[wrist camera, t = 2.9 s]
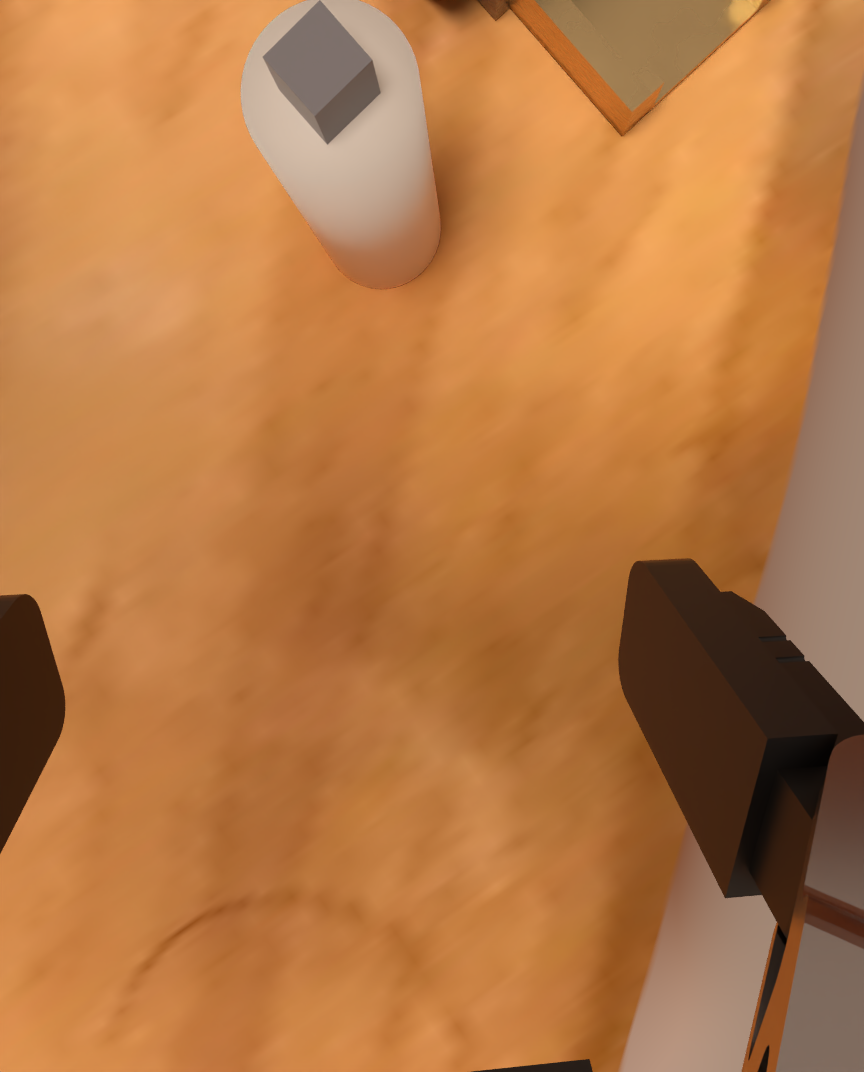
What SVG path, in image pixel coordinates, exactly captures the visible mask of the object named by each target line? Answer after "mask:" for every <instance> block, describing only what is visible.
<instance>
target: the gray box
mask: <svg viewBox="0 0 864 1072" xmlns="http://www.w3.org/2000/svg"><path fill="white" fill-rule="evenodd" d="M478 1H479V2H480V3H481V4H482V6H483V7H484V8H485V9H486V10H487V11H488V12H489V14H490V15H491V16H492V17H493V18H494V19H495V20H497V19H498V18H499V17H500V16H501V15H502V14H503V13H504V12H505V11H506V10H507V9H508V8H509V7H510V9H511V10H512V11H513V12H514V13H515V14H516V15H517V17H518V18H519V19H520V20H521V21H522V22H523V24H524V25H525V26H526V27H527V28H528V29H529V30H530V32H531V33H532V34H533V35H534V36H535V37H536V38H537V40H538V41H539V42H540V43H541V44H542V45H543V46H544V48H545V49H546V50H547V51H548V52H549V53H550V54H551V56H552V57H553V58H554V59H555V60H556V61H557V62H558V64H559V65H560V66H561V67H562V68H563V69H564V70H565V72H566V73H567V74H568V75H569V76H570V77H571V78H572V80H573V81H574V82H575V83H576V84H577V85H578V87H579V88H580V89H581V90H582V91H583V92H584V93H585V95H586V96H587V97H588V98H589V99H590V100H591V101H592V103H593V104H594V105H595V106H596V107H597V108H598V109H599V111H600V112H601V113H602V114H603V115H604V116H605V117H606V119H607V120H608V121H609V122H610V123H611V124H612V125H613V127H614V128H615V129H616V130H617V131H618V132H619V133H620V135H621V136H623V135H624V134H625V133H626V132H627V131H628V130H630V129H631V128H632V127H633V126H634V125H635V124H636V123H637V122H638V121H639V120H640V119H641V118H643V117H644V116H645V115H646V114H647V113H648V112H649V111H650V110H651V109H652V108H653V107H654V106H656V105H657V104H658V103H659V102H660V101H661V100H662V99H663V98H664V97H665V96H666V95H668V94H669V93H670V92H671V91H672V90H673V89H674V88H675V87H676V86H677V85H678V84H679V83H681V82H682V81H683V80H684V79H685V78H686V77H687V76H688V75H689V74H690V73H691V72H693V71H694V70H695V69H696V68H697V67H698V66H699V65H700V64H701V63H702V62H703V61H704V60H706V59H707V58H708V57H709V56H710V55H711V54H712V53H713V52H714V51H715V50H716V49H717V48H719V47H720V46H721V45H722V44H723V43H724V42H725V41H726V40H727V39H728V38H729V37H731V36H732V35H733V34H734V33H735V32H736V31H737V30H738V29H739V28H740V27H741V26H742V25H744V24H745V23H746V22H747V21H748V20H749V19H750V18H751V17H752V16H753V15H754V14H756V13H757V12H758V11H759V10H760V9H761V8H762V7H763V6H764V5H765V4H766V3H767V2H769V1H770V0H478Z"/></svg>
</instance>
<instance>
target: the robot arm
mask: <svg viewBox="0 0 864 1072" xmlns="http://www.w3.org/2000/svg"><path fill="white" fill-rule="evenodd" d="M618 661H619V675H620V681H621V685H622V689H623V692H624V695H625V698H626V700H627V702H628V704H629V706H630V708H631V710H632V712H633V714H634V716H635V718H636V720H637V722H638V724H639V726H640V728H641V730H642V732H643V734H644V736H645V738H646V740H647V742H648V744H649V746H650V748H651V750H652V752H653V754H654V756H655V758H656V760H657V762H658V764H659V766H660V768H661V770H662V772H663V774H664V776H665V778H666V780H667V782H668V784H669V786H670V788H671V790H672V792H673V794H674V796H675V798H676V800H677V802H678V804H679V806H680V808H681V810H682V812H683V814H684V816H685V818H686V820H687V822H688V824H689V826H690V828H691V830H692V832H693V834H694V836H695V838H696V840H697V842H698V844H699V846H700V849H701V851H702V853H703V855H704V856H705V858H706V861H707V862H708V864H709V867H710V868H711V870H712V873H713V875H714V877H715V878H716V881H717V883H718V885H719V887H720V889H721V890H722V893H723V895H724V897H725V898H731V897H743V896H754V895H763V897H764V899H765V901H766V903H767V904H768V906H769V908H770V910H771V912H772V914H773V915H774V917H775V919H776V921H777V923H776V926H775V929H774V933H773V937H772V941H771V945H770V950H769V954H768V958H767V963H766V967H765V971H764V976H763V980H762V985H761V989H760V993H759V998H758V1002H757V1006H756V1011H755V1015H754V1019H753V1024H752V1028H751V1033H750V1037H749V1041H748V1046H747V1050H746V1054H745V1059H744V1063H743V1068H742V1072H864V722H863V721H862V720H861V719H860V718H859V716H858V715H857V714H856V713H855V712H854V711H853V710H852V709H851V708H850V706H849V705H848V704H847V703H846V702H845V701H844V700H843V698H842V697H841V696H840V695H839V694H838V693H837V692H836V691H835V690H834V688H832V686H831V685H830V684H829V683H828V682H827V681H826V680H825V678H824V677H823V676H822V675H821V674H820V673H819V672H818V671H817V669H816V668H815V667H814V666H813V665H812V664H811V663H810V662H809V661H805V660H804V655H803V654H802V653H801V652H800V650H799V649H798V648H797V647H796V646H795V645H794V644H793V643H792V642H791V641H790V640H789V641H787V640H786V635H785V634H784V633H783V631H782V630H781V629H780V628H779V627H778V626H777V625H776V624H775V623H774V621H773V620H772V619H771V618H770V617H769V616H768V615H767V614H766V612H765V611H763V610H762V609H760V608H758V607H756V606H755V605H753V604H752V603H750V602H748V601H747V600H745V599H743V598H742V597H740V596H738V595H737V594H735V593H733V592H732V591H729V592H720V591H719V590H718V588H717V587H716V586H715V585H714V584H713V582H712V581H711V580H710V579H709V578H708V576H707V575H706V574H705V573H704V572H703V570H702V569H701V568H700V567H699V566H698V564H697V563H696V562H695V561H694V560H692V559H688V558H687V559H668V560H649V561H637V562H635V563H634V565H633V566H632V568H631V571H630V575H629V581H628V588H627V595H626V603H625V610H624V618H623V625H622V632H621V640H620V647H619V660H618ZM64 717H65V695H64V690H63V685H62V682H61V679H60V675H59V672H58V669H57V665H56V662H55V659H54V655H53V652H52V648H51V645H50V642H49V638H48V635H47V632H46V628H45V625H44V621H43V618H42V615H41V612H40V609H39V606H38V604H37V602H36V601H35V600H34V598H32V597H31V596H30V595H26V594H21V595H1V596H0V853H1V851H2V849H3V847H4V846H5V844H6V842H7V840H8V838H9V836H10V834H11V832H12V830H13V828H14V826H15V824H16V822H17V820H18V818H19V816H20V814H21V812H22V810H23V808H24V806H25V804H26V802H27V800H28V798H29V796H30V794H31V792H32V790H33V788H34V786H35V784H36V782H37V780H38V778H39V776H40V774H41V772H42V771H43V769H44V767H45V765H46V763H47V761H48V759H49V757H50V755H51V753H52V751H53V749H54V747H55V745H56V743H57V741H58V739H59V737H60V734H61V731H62V728H63V724H64ZM473 1072H593V1071H592V1067H591V1064H590V1060H589V1059H586V1060H577V1061H567V1062H558V1063H549V1064H539V1065H530V1066H520V1067H511V1068H501V1069H492V1070H482V1071H473Z"/></svg>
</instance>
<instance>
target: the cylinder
mask: <svg viewBox="0 0 864 1072" xmlns="http://www.w3.org/2000/svg"><path fill="white" fill-rule="evenodd" d="M241 104H242V111H243V116H244V119H245V123H246V126H247V128H248V131H249V133H250V135H251V137H252V139H253V141H254V143H255V144H256V146H257V148H258V149H259V151H260V152H261V154H262V155H263V157H264V158H265V160H266V161H267V163H268V164H269V166H270V167H271V169H272V170H273V172H274V173H275V175H276V176H277V178H278V179H279V181H280V182H281V184H282V185H283V187H284V188H285V190H286V191H287V193H288V195H289V196H290V198H291V199H292V201H293V202H294V204H295V205H296V207H297V208H298V210H299V211H300V213H301V214H302V216H303V217H304V219H305V220H306V222H307V223H308V225H309V226H310V228H311V229H312V231H313V232H314V234H315V235H316V237H317V238H318V240H319V241H320V243H321V245H322V246H323V248H324V249H325V251H326V252H327V254H328V255H329V257H330V258H331V260H332V261H333V263H334V264H335V265H336V267H337V268H338V269H339V270H340V271H341V272H342V273H343V274H344V275H345V276H346V277H347V278H349V279H350V280H352V281H354V282H355V283H357V284H360V285H362V286H365V287H369V288H375V289H388V288H394V287H398V286H401V285H403V284H406V283H408V282H410V281H411V280H413V279H415V278H416V277H417V276H418V275H420V274H421V273H422V272H423V271H424V270H425V269H426V268H427V266H428V265H429V264H430V262H431V261H432V259H433V257H434V255H435V253H436V251H437V248H438V245H439V241H440V235H441V220H440V212H439V206H438V199H437V192H436V185H435V178H434V172H433V165H432V158H431V151H430V144H429V138H428V131H427V124H426V117H425V110H424V103H423V97H422V90H421V83H420V76H419V69H418V66H417V62H416V58H415V55H414V53H413V51H412V48H411V46H410V44H409V42H408V41H407V39H406V37H405V35H404V34H403V33H402V31H401V30H400V29H399V28H398V26H397V25H396V24H395V23H394V22H393V21H392V20H391V19H390V18H389V17H388V16H386V15H385V14H384V13H382V12H381V11H380V10H378V9H376V8H374V7H373V6H371V5H369V4H367V3H364V2H361V1H359V0H307V1H304V2H301V3H298V4H296V5H294V6H292V7H290V8H288V9H287V10H285V11H284V12H282V13H281V14H279V15H278V16H277V17H276V18H275V19H273V20H272V21H271V22H270V23H269V24H268V25H267V26H266V27H265V29H264V30H263V31H262V32H261V33H260V35H259V36H258V38H257V39H256V41H255V42H254V44H253V46H252V48H251V50H250V52H249V54H248V57H247V60H246V63H245V66H244V70H243V75H242V82H241Z"/></svg>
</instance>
